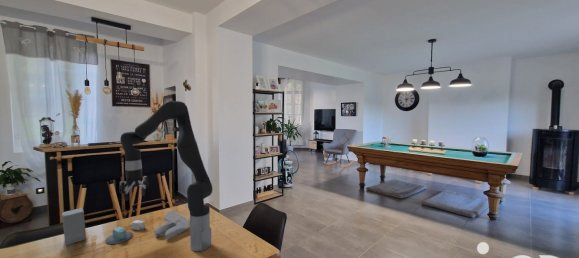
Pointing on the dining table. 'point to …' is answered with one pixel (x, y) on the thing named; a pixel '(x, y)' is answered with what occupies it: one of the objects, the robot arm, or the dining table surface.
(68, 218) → the skincare box
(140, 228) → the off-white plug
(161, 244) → the dining table surface
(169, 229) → the chrome faucet
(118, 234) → the teal plug
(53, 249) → the dining table surface
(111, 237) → the slate coaster
